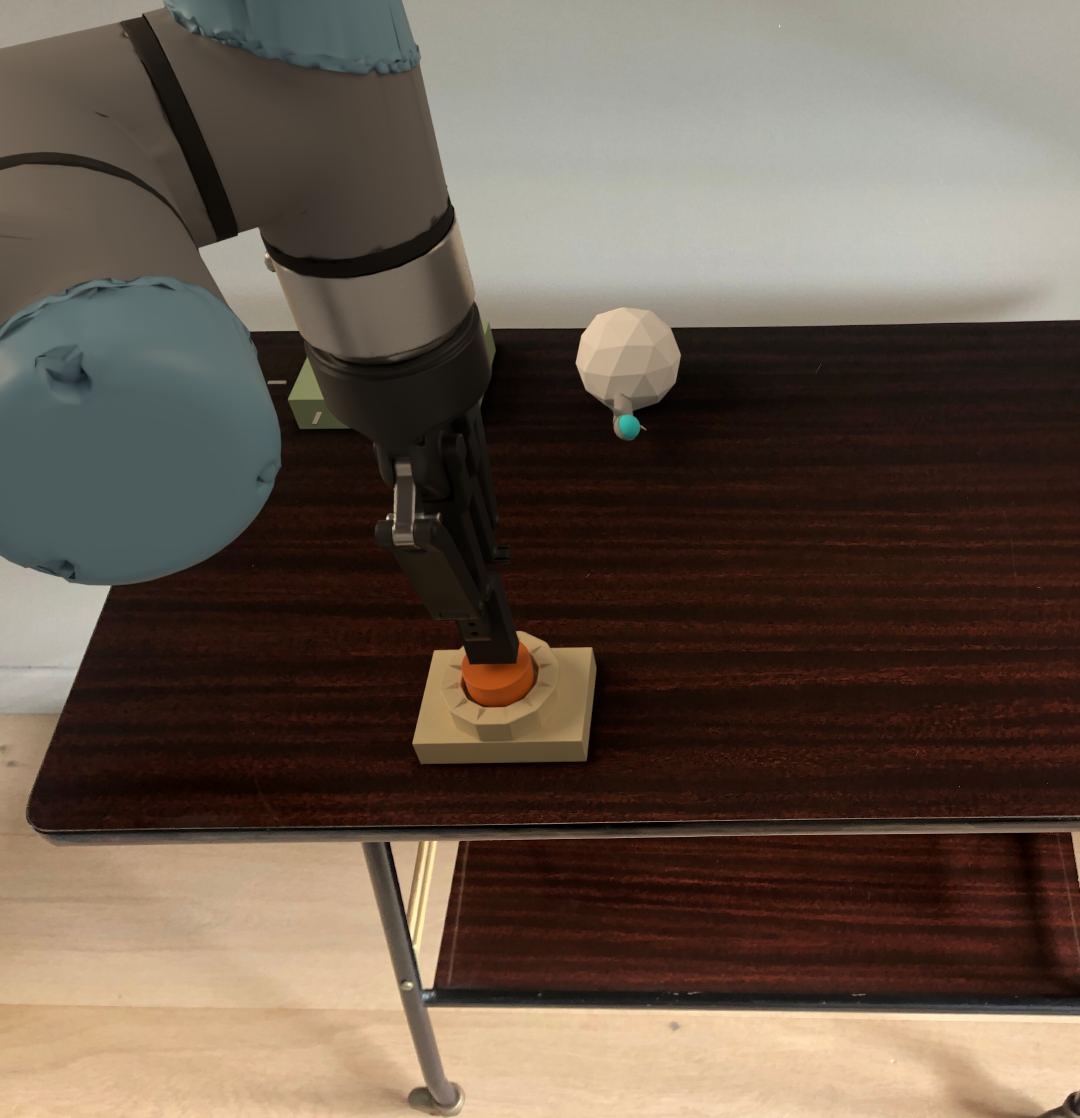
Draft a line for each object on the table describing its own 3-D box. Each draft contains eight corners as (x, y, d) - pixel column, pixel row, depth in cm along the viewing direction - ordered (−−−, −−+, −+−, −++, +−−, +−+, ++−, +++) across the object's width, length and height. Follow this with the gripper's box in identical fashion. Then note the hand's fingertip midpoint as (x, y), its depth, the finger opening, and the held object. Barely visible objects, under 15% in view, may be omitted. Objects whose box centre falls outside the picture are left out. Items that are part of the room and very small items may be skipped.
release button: (462, 707, 66) (455, 690, 65) (473, 654, 69) (467, 636, 68) (529, 706, 66) (524, 689, 65) (538, 652, 69) (533, 634, 68)
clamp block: (261, 455, 88) (247, 424, 85) (308, 352, 96) (296, 322, 94) (467, 453, 87) (459, 422, 85) (495, 350, 96) (488, 319, 94)
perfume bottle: (697, 324, 92) (708, 435, 85) (621, 373, 95) (625, 483, 88) (632, 266, 86) (639, 379, 79) (554, 321, 90) (554, 433, 83)
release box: (420, 764, 68) (404, 726, 65) (441, 671, 73) (427, 631, 70) (586, 761, 68) (577, 723, 65) (596, 668, 73) (588, 628, 70)
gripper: (338, 236, 53) (450, 572, 70) (258, 416, 44) (408, 750, 62) (497, 231, 53) (570, 569, 70) (449, 411, 44) (545, 747, 61)
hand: (494, 653), depth 66 cm, fingers closed
